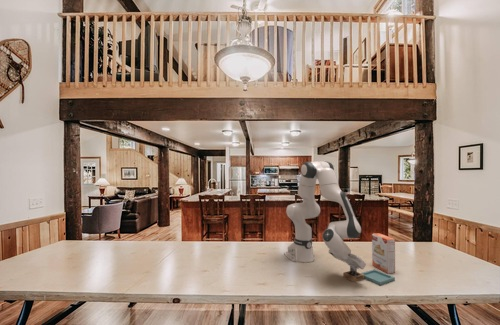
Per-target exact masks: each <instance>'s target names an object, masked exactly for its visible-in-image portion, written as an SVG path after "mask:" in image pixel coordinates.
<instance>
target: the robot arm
mask: <svg viewBox="0 0 500 325" xmlns="http://www.w3.org/2000/svg"><path fill="white" fill-rule="evenodd" d="M334 167H335V166H334V165H333V164H332V162H330V161H323V160H321V161H320V160H316V161H305V162H303V163H302V164H301V166H300V172H301V173H300V178H299V184H298V190H297V194H298V196H299V197H300V198H301V199H302V202H296V203H295V202H294V203H291V204H288V205H287V207H286V210H285V213H286V216H287V217H288V218H289V219H290V221H292V222H293V226H294V231H295V237H294V238H292V240H294V241H293V242H292V243H291V244H289V245H288V247H287V251H286V252H284V253H283V255H284V256H286V257H287V258H288V259H289V260H290V261H292V262H298V263H312V262H313V261H314V260H315V255H314V249H313V248H314V246H313V238H312V237H313V235H312V233H313V232H312V227H311V225H310V224H308V223H307V222H306V219H313V218H315V217H316V218H317V217H319V215H320V214H321V208H320V205H319V203H317V201H316V199H315V192H316V186H317V185H316V184H317V180H318V184H319V185H318V187H319V191H320V194H321V196H322V198H324V199H325V200H327V201H331V202H336V203H338V204H339V205H340V206H341V207H342V209H343V210H342V211H343V213H344V215H345V219H346V220H345V219H344V220H338V221H331V222H329V223H328V224H327V226H326V229H325V230H324V231H323V233H322V240H323V242H324V244H325V245H326V247H327V248H328V249H329V250H328V251H327V252H328V254H330V255H332V257H334V258H335V259H336V260H339V261H342V262H344V263H345V264H347V265H348V266H349V267H350V265H353V266H355V268H357V270H359V269H361V270H364V269H365V267H366V265H367V264H366V261H364V260H363V259H362V258H361V257H360V256H358V255H357V254H353V253H352V250H351V249H350V247H349V246H348V244H347V243H345V242H344V239H357V238H358V237H359V236H360V235H361V233H362V227H361V225H360V222H359V220H358V219H357V217H356V214H355V212H354V208H353V207H352V204H351V202H350V199H349V197H348V195H347V194H346V192H345V191H342V190H341V188H340V186H339V185H340V184H339V181H338V178H337V175H336V173H335V168H334Z"/></svg>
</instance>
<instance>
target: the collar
mask: <svg viewBox="0 0 500 325" xmlns="http://www.w3.org/2000/svg"><path fill="white" fill-rule="evenodd" d="M361 273H362V272H358V271H357V276H355V277H354V276H352V275H350V270H348V271H345V272H343V276H342V277H343V278H345V279H347V280H349V281H351V282H353V283H357V282H360V281H363V280H365V279H364V275H363V274H361Z"/></svg>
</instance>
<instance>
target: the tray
mask: <svg viewBox="0 0 500 325" xmlns="http://www.w3.org/2000/svg"><path fill="white" fill-rule="evenodd" d="M360 273H361V274H363V275H364V280H365V281H369V282H370V283H371V284H375V285H377V286H380V287H381V286H384V285H387V284H390V283H393V282H395V281H396V277H395V276H392V275H390V274H387V273H385V272H383V271H381V270H377V269H370V270H367V271H363V272H360Z"/></svg>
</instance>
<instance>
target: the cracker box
mask: <svg viewBox="0 0 500 325" xmlns="http://www.w3.org/2000/svg"><path fill="white" fill-rule="evenodd" d="M371 244H372V245H371V252H372V254H371V258H372V260H371V263H372V264H371V265H372V266H373V267H375V268H376V269H378V270H379V271H381V272H382V273H385V274H388V275H390V274H396V239H395V238H393V237H390V236H387V235H385V234H382V233H380V232H379V233H377V232H376V233H372V234H371Z"/></svg>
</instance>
